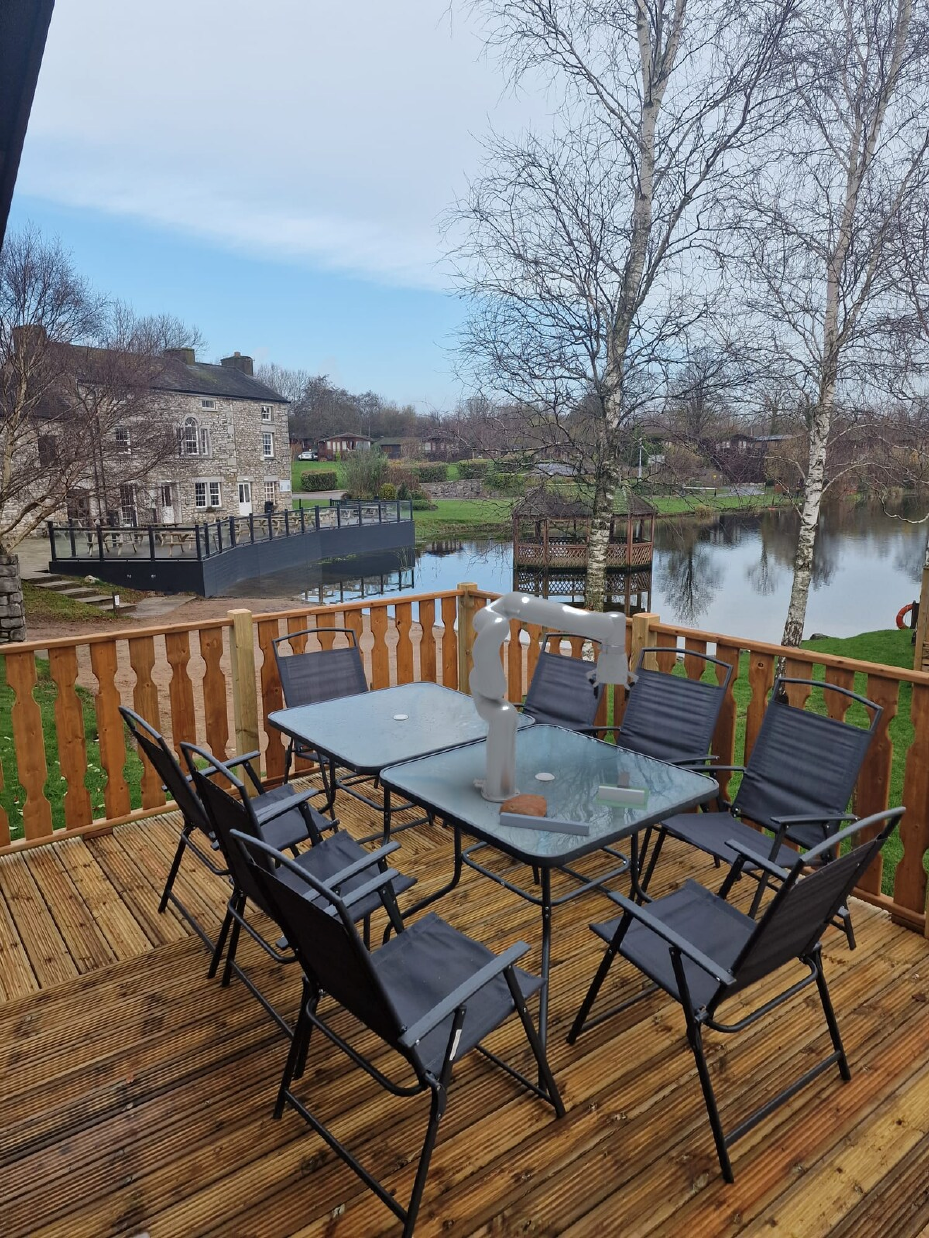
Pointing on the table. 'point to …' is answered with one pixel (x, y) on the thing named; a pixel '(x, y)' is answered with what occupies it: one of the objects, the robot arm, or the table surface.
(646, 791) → the mat
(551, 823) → the board
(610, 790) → the scraper
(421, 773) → the table surface
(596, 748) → the table surface
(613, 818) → the table surface
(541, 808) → the ceramic shard
